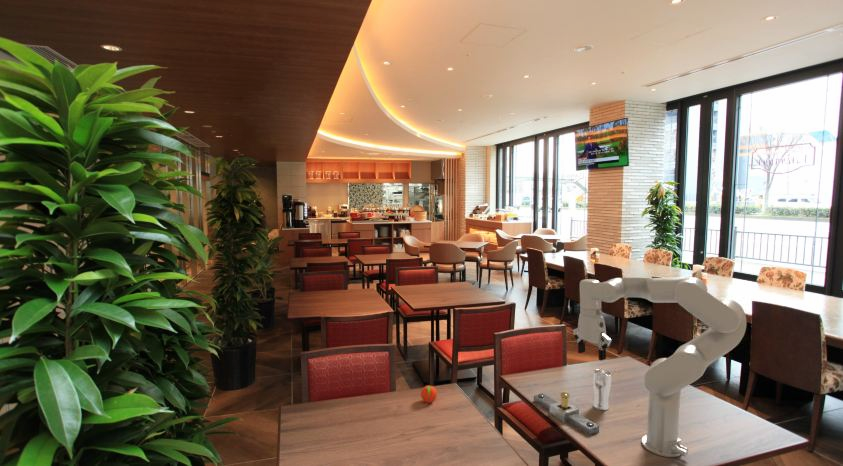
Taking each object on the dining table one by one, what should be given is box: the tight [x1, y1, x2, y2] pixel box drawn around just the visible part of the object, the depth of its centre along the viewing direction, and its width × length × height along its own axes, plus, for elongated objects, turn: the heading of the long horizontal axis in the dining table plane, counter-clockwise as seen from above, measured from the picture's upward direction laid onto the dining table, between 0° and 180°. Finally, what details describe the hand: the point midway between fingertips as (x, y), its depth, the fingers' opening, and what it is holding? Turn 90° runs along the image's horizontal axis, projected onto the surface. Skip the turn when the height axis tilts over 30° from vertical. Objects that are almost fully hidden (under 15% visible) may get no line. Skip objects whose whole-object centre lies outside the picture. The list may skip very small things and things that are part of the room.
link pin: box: [559, 391, 570, 410], centre depth 174 cm, size 3×3×9 cm
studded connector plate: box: [533, 393, 600, 436], centre depth 174 cm, size 30×8×4 cm, turn 27°
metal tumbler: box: [592, 368, 612, 411], centre depth 181 cm, size 7×7×15 cm
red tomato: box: [420, 385, 438, 404], centre depth 185 cm, size 8×7×7 cm
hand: (591, 355), depth 166 cm, fingers open, 9 cm apart
